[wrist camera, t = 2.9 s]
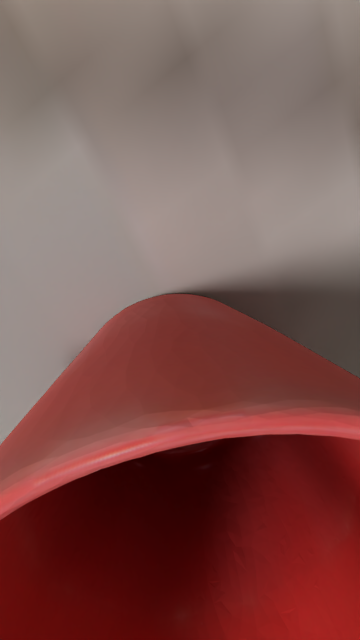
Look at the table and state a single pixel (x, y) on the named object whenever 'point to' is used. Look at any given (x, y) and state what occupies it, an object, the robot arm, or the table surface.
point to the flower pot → (185, 487)
